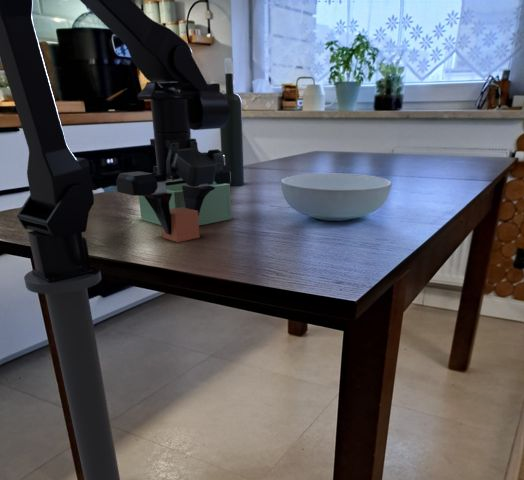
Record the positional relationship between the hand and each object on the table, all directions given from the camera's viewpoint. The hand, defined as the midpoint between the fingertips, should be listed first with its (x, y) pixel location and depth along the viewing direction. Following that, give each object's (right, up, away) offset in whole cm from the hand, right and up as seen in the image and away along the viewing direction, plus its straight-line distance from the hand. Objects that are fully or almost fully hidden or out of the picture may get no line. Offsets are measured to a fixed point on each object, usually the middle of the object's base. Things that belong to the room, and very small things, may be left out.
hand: (180, 231), depth 87 cm
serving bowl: (+28, +6, +14) cm, 32 cm away
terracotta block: (0, -1, 0) cm, 1 cm away
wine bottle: (+6, +25, +53) cm, 59 cm away
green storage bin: (-1, +5, +14) cm, 15 cm away
